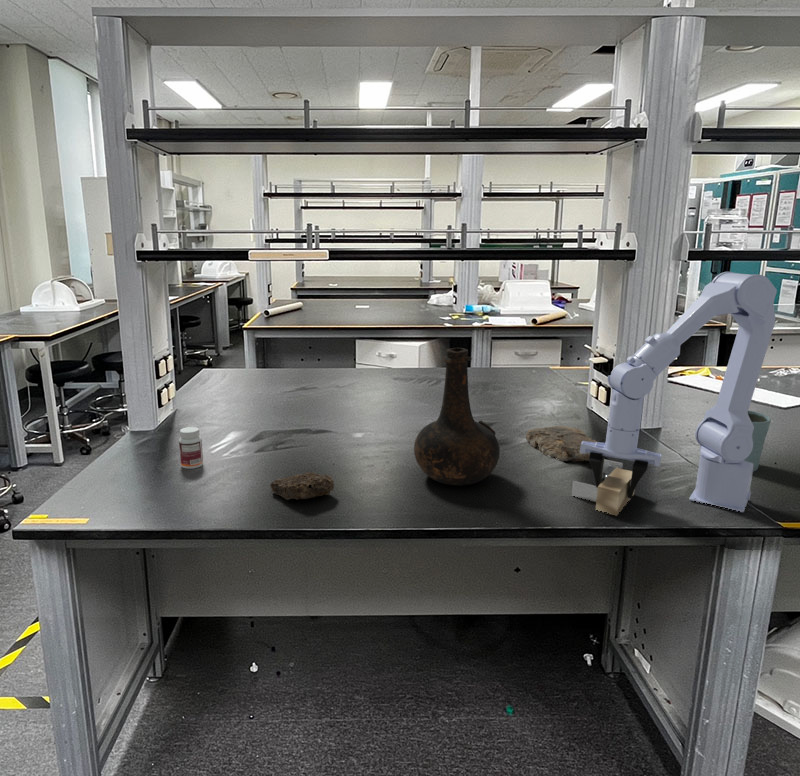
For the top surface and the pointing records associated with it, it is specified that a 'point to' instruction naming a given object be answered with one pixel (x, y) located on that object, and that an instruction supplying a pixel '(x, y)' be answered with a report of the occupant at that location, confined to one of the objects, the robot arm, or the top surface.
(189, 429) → the pill bottle
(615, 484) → the oak block
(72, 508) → the top surface
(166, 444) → the top surface
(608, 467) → the grey blocks and balls
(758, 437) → the green ceramic planter
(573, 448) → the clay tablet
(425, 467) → the glass bottle
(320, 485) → the brown rock
